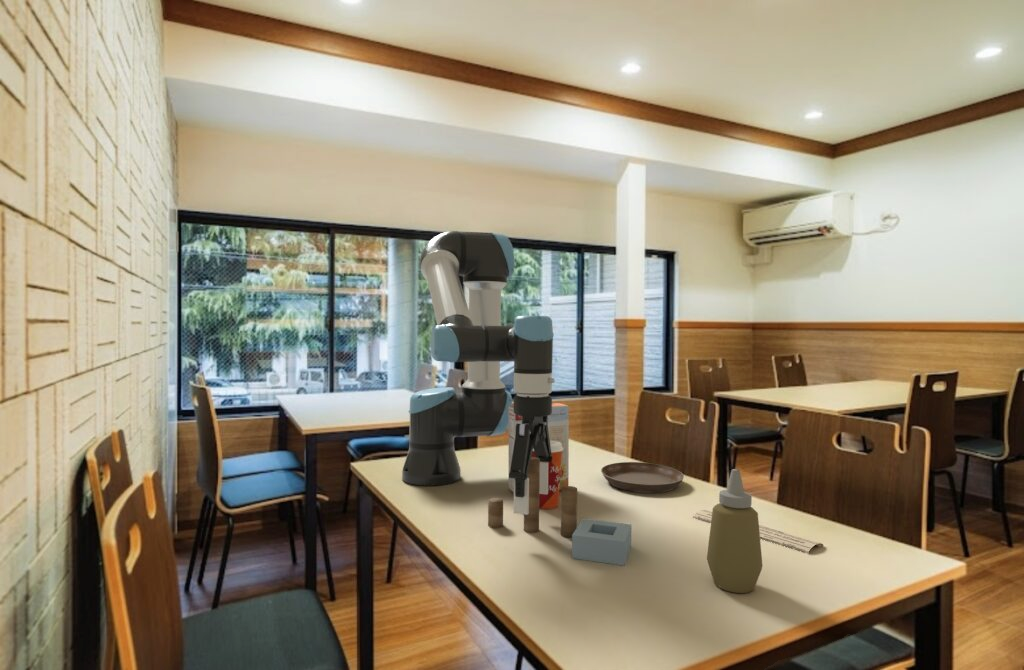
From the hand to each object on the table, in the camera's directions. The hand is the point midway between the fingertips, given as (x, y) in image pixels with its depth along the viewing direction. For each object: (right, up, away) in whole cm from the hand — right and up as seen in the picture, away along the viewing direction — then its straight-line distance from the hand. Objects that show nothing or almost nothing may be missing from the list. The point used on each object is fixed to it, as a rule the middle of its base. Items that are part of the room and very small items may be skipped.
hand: (531, 503), depth 111 cm
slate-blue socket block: (+12, -6, -10) cm, 17 cm away
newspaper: (+44, -7, +1) cm, 45 cm away
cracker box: (+2, -5, +28) cm, 28 cm away
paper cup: (+4, -5, +16) cm, 17 cm away
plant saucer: (+29, -6, +34) cm, 46 cm away
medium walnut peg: (+7, -5, -2) cm, 9 cm away
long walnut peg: (0, -5, 0) cm, 5 cm away
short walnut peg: (-7, -5, +3) cm, 9 cm away
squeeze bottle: (+31, -6, -23) cm, 39 cm away
